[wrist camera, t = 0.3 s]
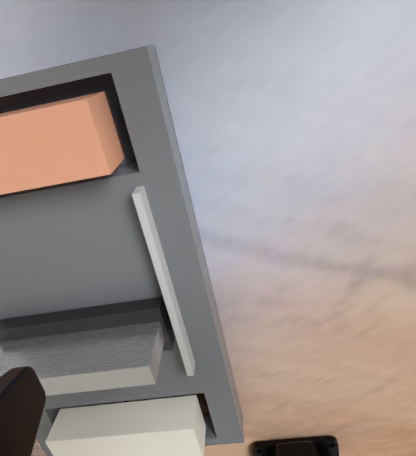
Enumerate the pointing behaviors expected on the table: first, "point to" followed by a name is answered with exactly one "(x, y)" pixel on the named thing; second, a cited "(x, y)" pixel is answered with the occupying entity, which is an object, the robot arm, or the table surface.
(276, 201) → the table surface
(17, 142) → the button terracotta
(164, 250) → the panel
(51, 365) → the slider paddle
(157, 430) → the button white
